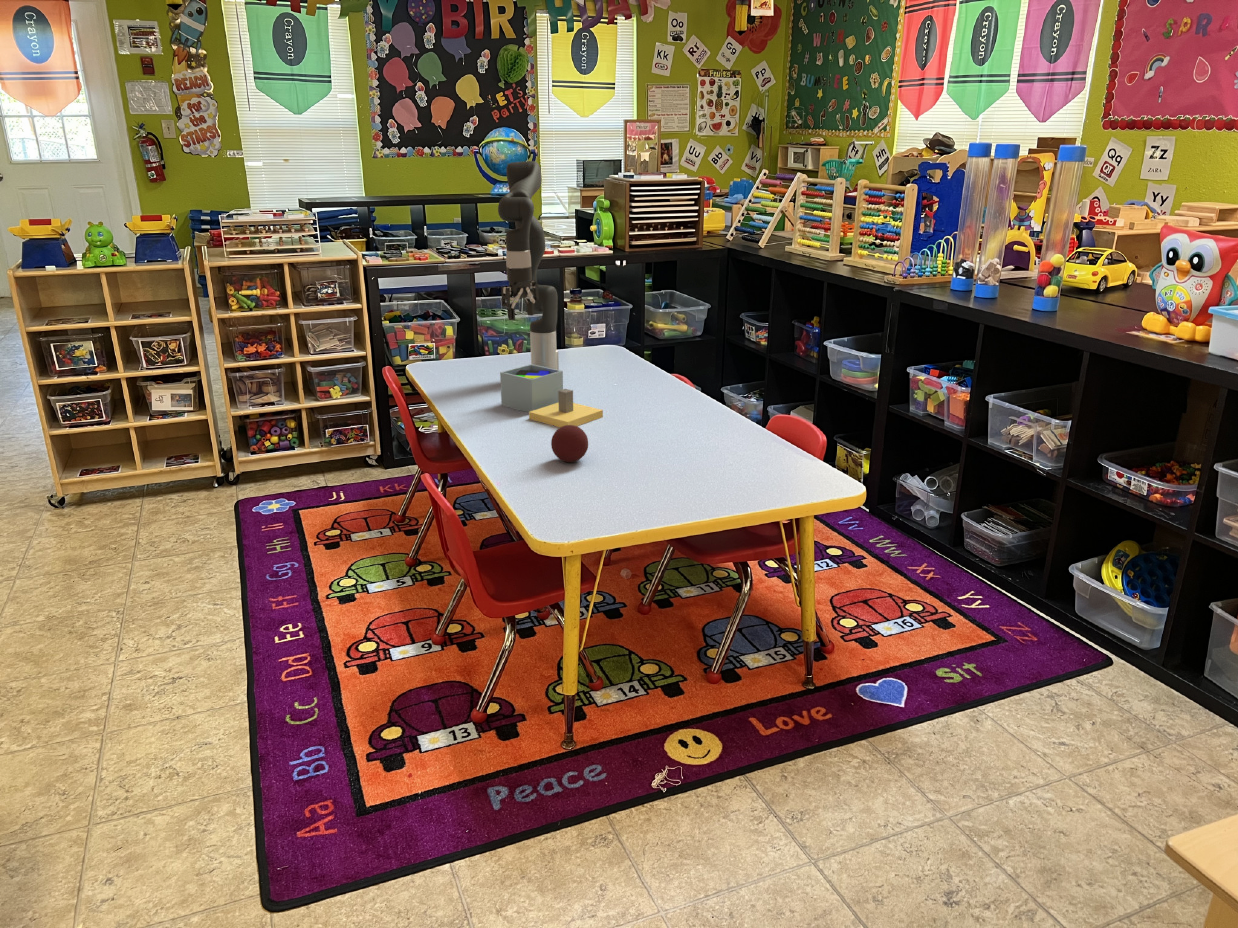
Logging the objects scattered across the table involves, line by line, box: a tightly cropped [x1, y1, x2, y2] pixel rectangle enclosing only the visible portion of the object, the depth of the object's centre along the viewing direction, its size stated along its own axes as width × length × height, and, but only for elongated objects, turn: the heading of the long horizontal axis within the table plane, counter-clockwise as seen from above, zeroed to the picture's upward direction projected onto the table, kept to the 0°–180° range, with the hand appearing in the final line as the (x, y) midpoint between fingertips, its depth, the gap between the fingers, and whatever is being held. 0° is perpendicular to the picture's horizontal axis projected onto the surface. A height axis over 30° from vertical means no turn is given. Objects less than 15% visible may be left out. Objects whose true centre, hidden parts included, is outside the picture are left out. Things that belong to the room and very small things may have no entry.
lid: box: [528, 388, 604, 428], centre depth 278 cm, size 16×16×9 cm
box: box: [499, 363, 564, 413], centre depth 291 cm, size 14×14×11 cm
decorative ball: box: [550, 425, 589, 463], centre depth 241 cm, size 10×10×10 cm
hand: (521, 317), depth 280 cm, fingers open, 8 cm apart
